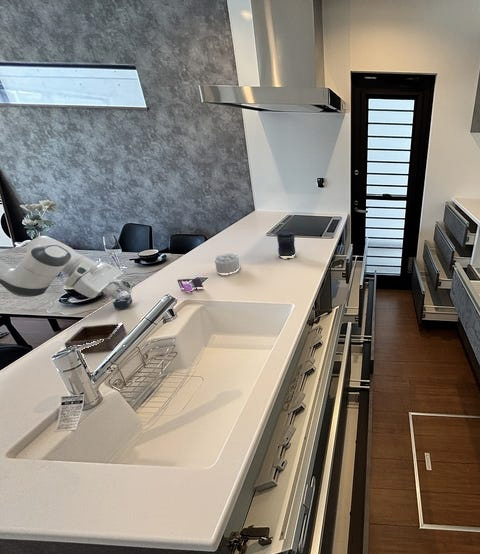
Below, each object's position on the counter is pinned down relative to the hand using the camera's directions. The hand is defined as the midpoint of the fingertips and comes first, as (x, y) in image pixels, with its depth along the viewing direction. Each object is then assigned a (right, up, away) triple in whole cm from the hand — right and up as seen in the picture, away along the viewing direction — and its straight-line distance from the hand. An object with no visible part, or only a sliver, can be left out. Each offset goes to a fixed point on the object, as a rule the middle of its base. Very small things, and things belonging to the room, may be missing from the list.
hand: (122, 291), depth 119 cm
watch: (-1, -6, +2) cm, 6 cm away
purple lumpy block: (+18, -1, +16) cm, 24 cm away
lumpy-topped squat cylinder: (+24, +8, +39) cm, 46 cm away
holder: (+8, -16, -19) cm, 27 cm away
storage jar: (+48, +18, +63) cm, 81 cm away
